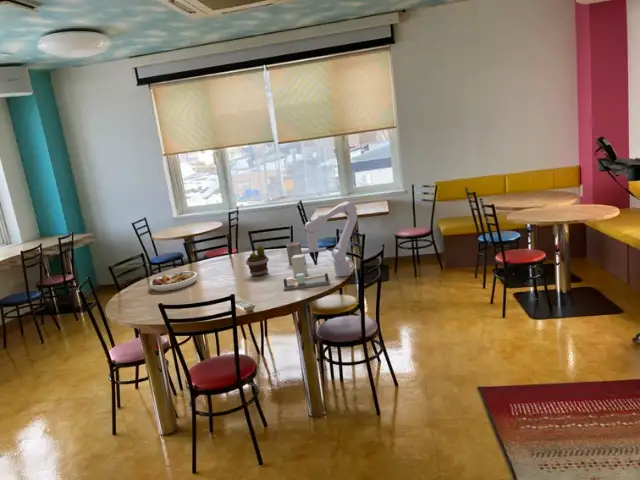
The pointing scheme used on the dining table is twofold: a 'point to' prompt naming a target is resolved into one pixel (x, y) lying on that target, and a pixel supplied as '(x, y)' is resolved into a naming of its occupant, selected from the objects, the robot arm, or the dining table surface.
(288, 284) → the cord board
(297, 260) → the supplement box
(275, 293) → the dining table surface
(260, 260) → the flowerpot
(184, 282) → the bowl
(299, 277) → the sleeve
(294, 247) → the pillar candle
